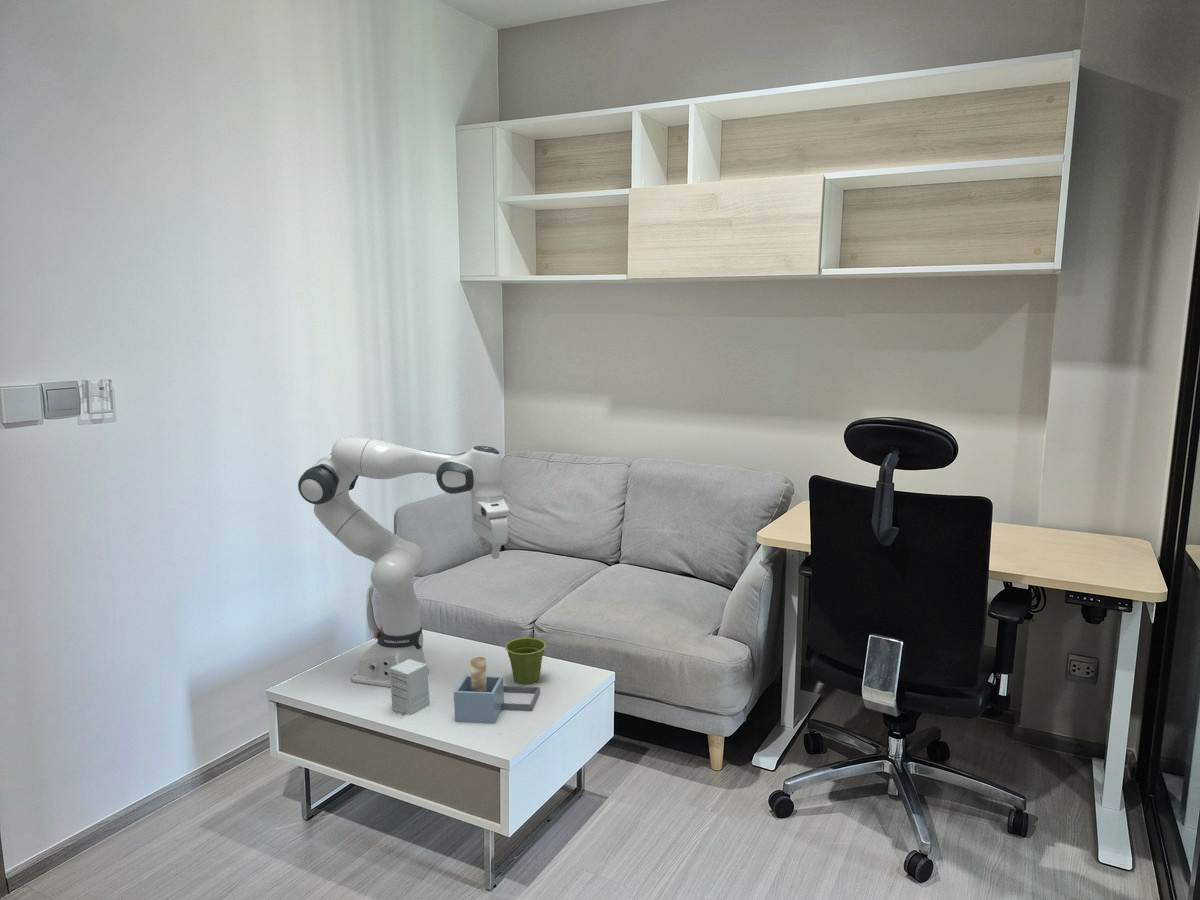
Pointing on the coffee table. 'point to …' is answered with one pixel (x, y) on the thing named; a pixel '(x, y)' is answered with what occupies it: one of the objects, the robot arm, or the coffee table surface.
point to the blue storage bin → (479, 701)
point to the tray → (521, 690)
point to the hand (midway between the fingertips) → (489, 553)
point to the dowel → (478, 674)
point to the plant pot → (526, 659)
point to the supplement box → (409, 687)
